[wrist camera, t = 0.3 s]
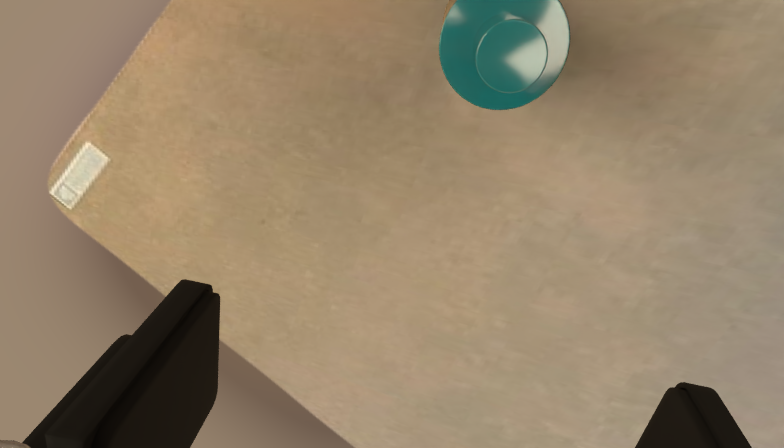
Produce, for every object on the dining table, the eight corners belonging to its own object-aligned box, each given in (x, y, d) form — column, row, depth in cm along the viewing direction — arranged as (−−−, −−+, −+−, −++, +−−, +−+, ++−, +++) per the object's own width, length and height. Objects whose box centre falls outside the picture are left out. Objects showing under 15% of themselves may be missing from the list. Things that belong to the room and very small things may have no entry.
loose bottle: (430, -3, 30) (414, 14, 17) (515, -42, 28) (566, -54, 16) (460, 80, 31) (466, 150, 19) (541, 47, 30) (605, 98, 18)
